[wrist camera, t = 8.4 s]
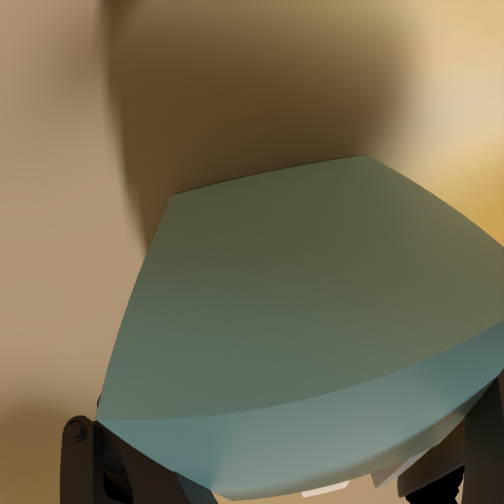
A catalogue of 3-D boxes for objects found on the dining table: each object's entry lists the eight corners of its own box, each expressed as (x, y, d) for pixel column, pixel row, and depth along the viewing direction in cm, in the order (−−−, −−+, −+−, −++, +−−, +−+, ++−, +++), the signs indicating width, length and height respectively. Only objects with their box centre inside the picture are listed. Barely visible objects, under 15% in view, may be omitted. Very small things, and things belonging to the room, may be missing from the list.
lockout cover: (171, 195, 11) (95, 418, 3) (366, 154, 11) (547, 289, 3) (223, 334, 15) (233, 500, 7) (366, 300, 15) (438, 443, 7)
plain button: (292, 445, 20) (301, 492, 16) (337, 434, 20) (349, 480, 16) (295, 456, 23) (303, 497, 19) (335, 446, 22) (345, 487, 18)
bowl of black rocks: (484, 397, 33) (519, 472, 17) (390, 452, 37) (415, 534, 21) (503, 348, 23) (562, 457, 7) (369, 432, 27) (406, 557, 11)
